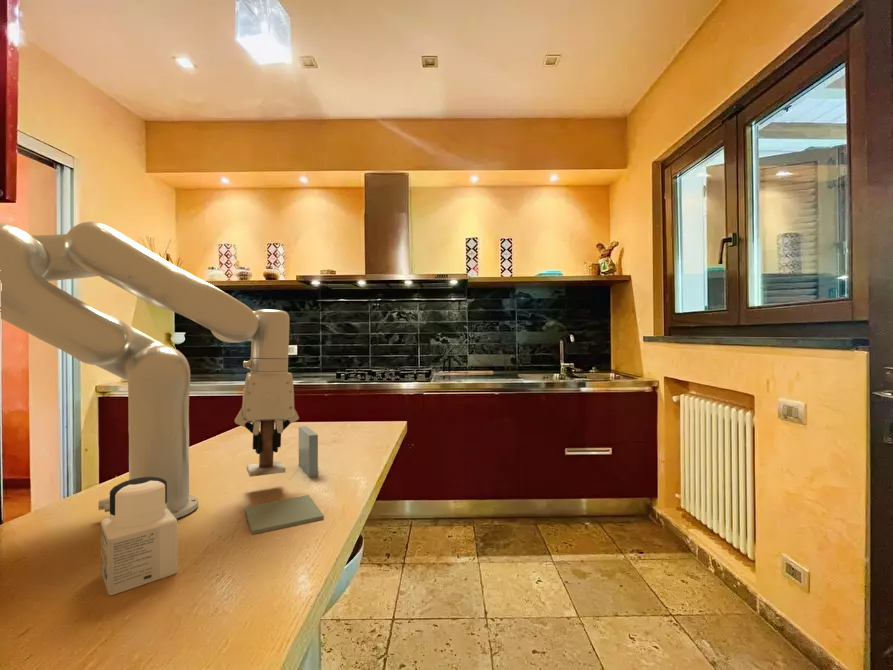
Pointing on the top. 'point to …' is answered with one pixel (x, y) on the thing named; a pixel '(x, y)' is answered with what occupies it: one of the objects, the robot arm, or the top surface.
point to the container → (138, 535)
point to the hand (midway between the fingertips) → (266, 451)
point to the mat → (282, 514)
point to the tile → (308, 451)
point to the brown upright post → (266, 453)
